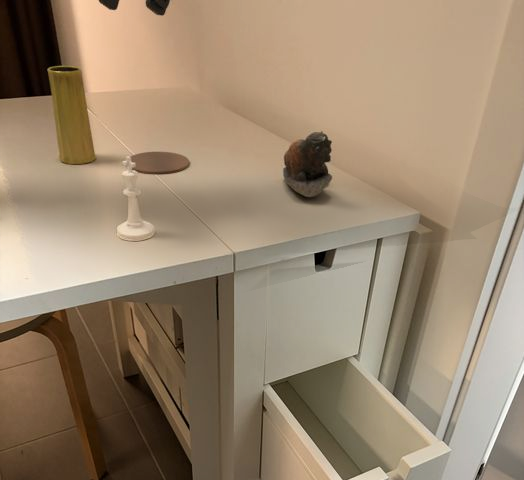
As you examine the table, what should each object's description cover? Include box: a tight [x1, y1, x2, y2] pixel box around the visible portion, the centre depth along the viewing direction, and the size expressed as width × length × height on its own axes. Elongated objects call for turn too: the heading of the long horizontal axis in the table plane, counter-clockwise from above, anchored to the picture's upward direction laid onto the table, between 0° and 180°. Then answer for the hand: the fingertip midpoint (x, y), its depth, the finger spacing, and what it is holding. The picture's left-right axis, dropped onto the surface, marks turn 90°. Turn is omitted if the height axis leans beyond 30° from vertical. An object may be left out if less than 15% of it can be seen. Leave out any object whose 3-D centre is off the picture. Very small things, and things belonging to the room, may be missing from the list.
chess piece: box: [116, 155, 156, 242], centre depth 70 cm, size 5×5×10 cm
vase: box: [47, 65, 97, 165], centre depth 92 cm, size 6×6×14 cm
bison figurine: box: [282, 130, 333, 198], centre depth 86 cm, size 12×7×10 cm, turn 14°
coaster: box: [125, 151, 190, 175], centre depth 96 cm, size 11×11×1 cm
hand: (129, 9), depth 61 cm, fingers open, 8 cm apart
